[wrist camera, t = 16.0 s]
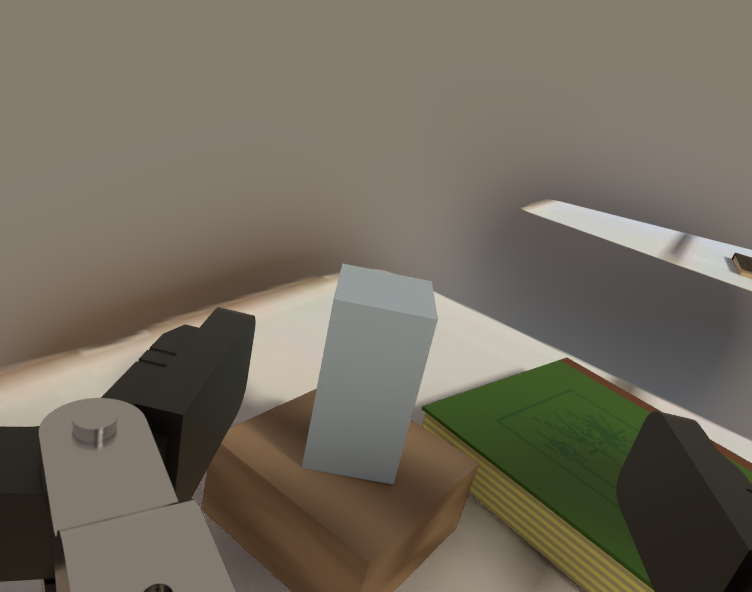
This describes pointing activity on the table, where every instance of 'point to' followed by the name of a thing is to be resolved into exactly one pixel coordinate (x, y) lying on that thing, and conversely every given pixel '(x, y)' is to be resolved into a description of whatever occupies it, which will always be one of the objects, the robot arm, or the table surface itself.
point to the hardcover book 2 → (743, 265)
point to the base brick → (333, 505)
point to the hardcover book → (556, 465)
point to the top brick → (370, 373)
